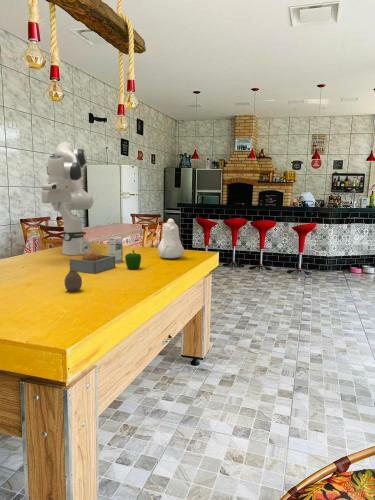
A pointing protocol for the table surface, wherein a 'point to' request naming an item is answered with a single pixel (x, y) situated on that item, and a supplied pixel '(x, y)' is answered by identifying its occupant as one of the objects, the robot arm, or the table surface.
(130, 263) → the bell pepper
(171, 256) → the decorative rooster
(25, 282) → the table surface
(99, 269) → the box
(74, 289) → the vase
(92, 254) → the onion
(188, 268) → the table surface
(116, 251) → the syrup box
